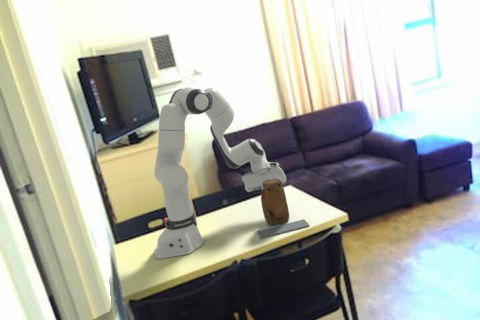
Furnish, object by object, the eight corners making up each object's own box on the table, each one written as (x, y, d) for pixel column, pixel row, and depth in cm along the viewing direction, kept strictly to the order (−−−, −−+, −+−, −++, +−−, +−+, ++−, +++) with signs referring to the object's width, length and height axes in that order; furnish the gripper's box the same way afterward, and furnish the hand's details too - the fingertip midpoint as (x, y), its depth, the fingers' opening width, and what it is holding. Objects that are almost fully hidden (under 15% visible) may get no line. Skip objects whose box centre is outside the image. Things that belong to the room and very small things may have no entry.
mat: (260, 238, 178) (260, 237, 178) (257, 232, 185) (257, 231, 185) (309, 226, 181) (309, 225, 180) (304, 220, 188) (304, 219, 188)
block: (284, 216, 197) (277, 176, 193) (291, 220, 190) (284, 179, 186) (264, 223, 194) (255, 182, 190) (270, 227, 187) (262, 186, 183)
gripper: (240, 171, 201) (248, 196, 193) (281, 162, 203) (290, 186, 196) (241, 178, 206) (248, 202, 199) (280, 168, 208) (289, 192, 201)
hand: (269, 194), depth 197 cm, fingers closed
